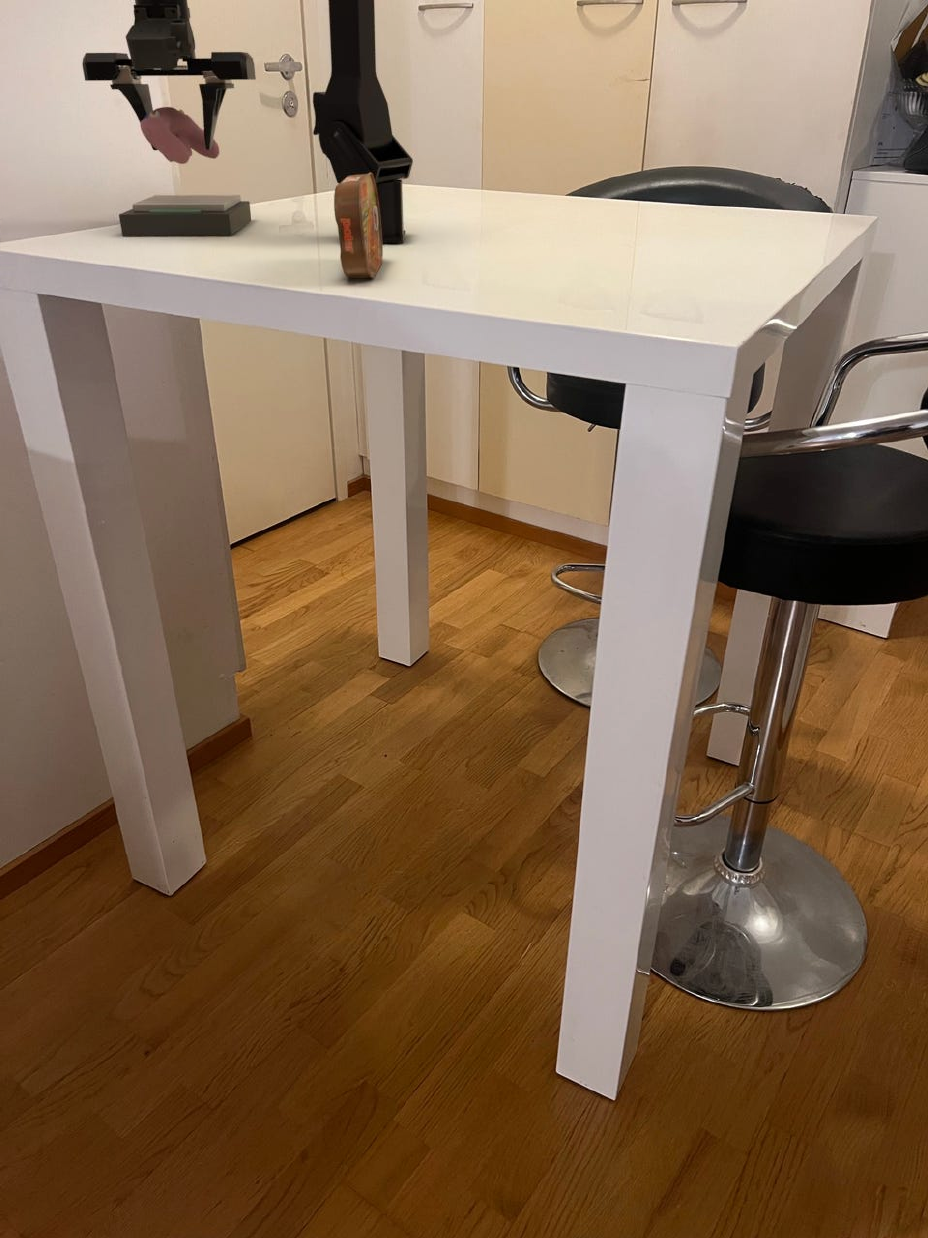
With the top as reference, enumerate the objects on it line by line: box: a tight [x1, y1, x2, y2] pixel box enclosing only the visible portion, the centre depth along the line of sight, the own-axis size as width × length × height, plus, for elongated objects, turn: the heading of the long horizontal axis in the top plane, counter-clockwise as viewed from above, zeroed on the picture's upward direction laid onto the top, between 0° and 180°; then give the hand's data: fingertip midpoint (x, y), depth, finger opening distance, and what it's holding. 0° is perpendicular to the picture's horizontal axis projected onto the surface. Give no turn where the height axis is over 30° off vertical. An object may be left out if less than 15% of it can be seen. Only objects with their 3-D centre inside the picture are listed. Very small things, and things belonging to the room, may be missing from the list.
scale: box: [118, 194, 252, 237], centre depth 116 cm, size 13×13×3 cm
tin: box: [333, 173, 384, 279], centre depth 89 cm, size 15×3×8 cm, turn 179°
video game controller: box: [139, 106, 220, 165], centre depth 113 cm, size 10×5×7 cm, turn 168°
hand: (182, 149), depth 114 cm, fingers closed on video game controller, 6 cm apart
